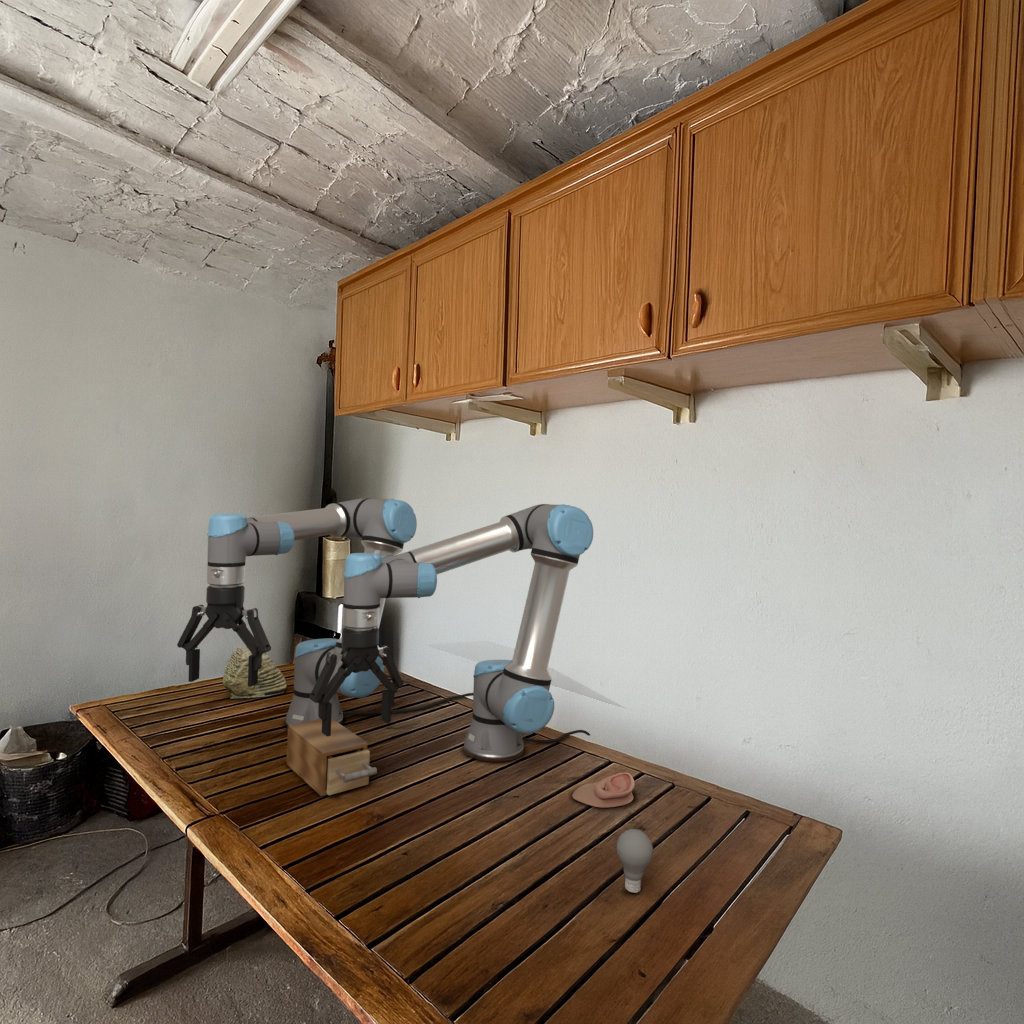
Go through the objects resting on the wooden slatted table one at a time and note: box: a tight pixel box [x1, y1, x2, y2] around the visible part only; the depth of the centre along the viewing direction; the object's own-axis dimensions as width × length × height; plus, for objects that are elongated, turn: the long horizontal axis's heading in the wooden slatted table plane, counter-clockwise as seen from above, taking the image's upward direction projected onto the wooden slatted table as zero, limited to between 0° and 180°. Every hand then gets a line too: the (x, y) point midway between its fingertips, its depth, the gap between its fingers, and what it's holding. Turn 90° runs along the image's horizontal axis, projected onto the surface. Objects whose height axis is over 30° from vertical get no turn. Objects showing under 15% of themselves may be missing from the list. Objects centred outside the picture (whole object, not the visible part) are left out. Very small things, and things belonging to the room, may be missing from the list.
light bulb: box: [615, 828, 654, 894], centre depth 106 cm, size 6×6×10 cm
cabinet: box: [286, 718, 368, 797], centre depth 145 cm, size 20×10×9 cm, turn 40°
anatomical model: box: [571, 771, 636, 809], centre depth 139 cm, size 13×4×12 cm
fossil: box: [222, 646, 288, 699], centre depth 198 cm, size 9×18×15 cm, turn 132°
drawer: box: [326, 749, 378, 796], centre depth 140 cm, size 24×9×7 cm, turn 40°
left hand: (223, 682), depth 137 cm, fingers open, 13 cm apart
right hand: (356, 727), depth 133 cm, fingers open, 13 cm apart
